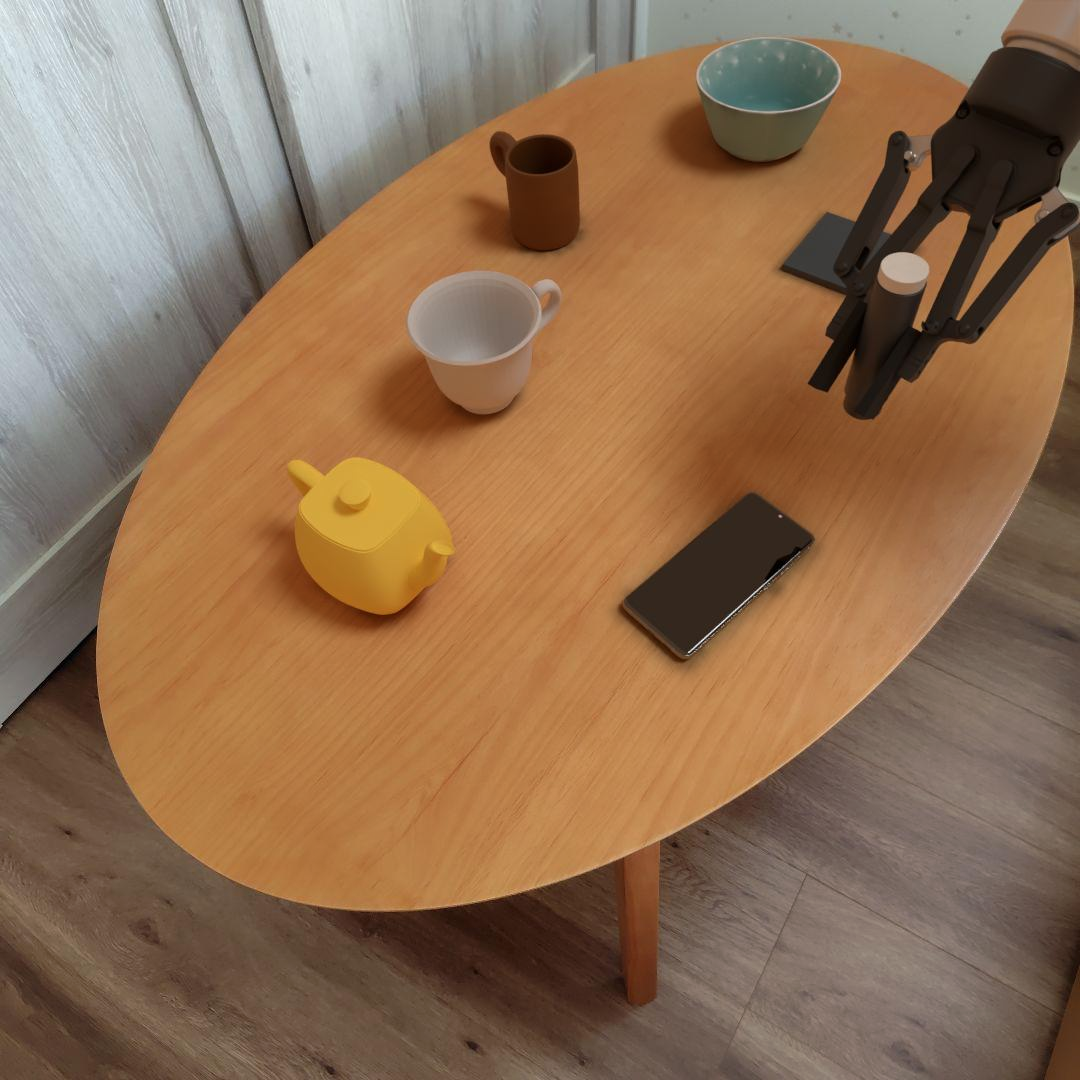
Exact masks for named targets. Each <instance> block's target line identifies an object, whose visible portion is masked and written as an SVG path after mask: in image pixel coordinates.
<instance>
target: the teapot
mask: <svg viewBox="0 0 1080 1080" xmlns="http://www.w3.org/2000/svg"><path fill="white" fill-rule="evenodd" d="M286 472H287V476H288V477H289V479H290V480H291V482H292V483H293V485H294V486H295V488H296V489H297V491H299V493H300V494H301V495H302V497H303V498H302V499H301V500H300V503H299V504H298V507H297V512H296V516H295V517H296V518H295V522H294V523H295V524H294V540H295V546H296V551H297V553H298V557H299V560H300V562H301V564H302V565H303V568H304V569H305V570H306V572H307V574H309V576H310V577H311V578H312V579H313V581H314V582H315V583H316V584H317V585H318V586H319V587H320V588H321V589H323V591H325V592H326V593H328V594H329V595H330V596H331V597H332V598H335V599H336V600H338V601H339V602H342V603H343V604H346V605H347V606H350V607H352V608H355V609H358V610H361V611H364V612H367V613H370V614H374V615H382V616H383V615H393V614H395V613H397V612H400V610H401V611H402V609H403V608H405V607H406V606H407V605H409V604H410V603H411V602H412V601H413V600H414V599H415V598H416V597H418V595H419V594H420V593H421V592H422V591H424V589H425V588H427V587H430V586H432V585H433V584H435V583H436V582H437V581H438V580H439V579H440V578H441V577H442V576H443V574H444V573H445V571H446V569H447V565H448V559H449V558H450V556H451V555H453V554H454V553H455V552H456V548H455V546H454V545H453V536H452V532H451V530H450V528H449V525H448V524H447V522H446V520H445V518H444V515H442V513H441V512H440V511H439V509H438V508H437V506H436V505H435V504H434V503H433V502H432V501H431V500H430V499H429V498H428V497H427V496H426V495H425V494H424V493H423V492H422V491H421V490H420V489H419V488H418V487H416V486H415V485H414V484H413V483H412V482H411V481H409V480H408V479H407V478H405V477H404V476H403V475H401V474H400V473H399V472H397V471H395V470H394V469H391V468H390V467H387V466H386V465H384V464H381V463H379V462H377V461H374V460H370V459H368V458H364V457H359V456H357V457H356V456H355V457H349V458H346V459H344V460H343V461H341V462H340V463H338V464H337V465H335V466H334V467H333V468H332V469H331V470H330V471H328V473H327V474H326V475H324V474H323V473H322V472H320V471H319V470H318V469H316V468H315V467H313V466H312V465H311V464H309V463H307V462H306V461H304V460H301V459H293V460H290V461H289V462H288V464H287V465H286Z"/></svg>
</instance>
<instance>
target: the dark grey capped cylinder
mask: <svg viewBox="0 0 1080 1080" xmlns="http://www.w3.org/2000/svg"><path fill="white" fill-rule="evenodd" d="M929 274H930V266H929V264H928V262H927V261H926V260H925V259H924V258H923V257H921V256H919V255H917V254H915V253H913V254H912V253H906V252H898V253H893V254H890V255H888V256H886V257H885V258H884V259H883V260H882V262H881V265H880V268H879V271H878V272H877V274H876V277H875V280H874V284H873V287H872V291H871V295H870V298H869V302H868V305H867V309H866V312H865V316H864V320H863V323H862V327H861V330H860V334H859V338H858V341H857V345H856V348H855V350H854V352H853V354H852V358H851V359H852V360H851V364H850V367H849V369H848V374H847V377H846V380H845V383H844V388H843V391H844V397H843V402H842V407H843V410H844V411H845V412H846V414H847V415H848V416H850V417H852V418H854V419H857V420H861V421H868V420H870V419H869V418H866V417H863V416H861V415H860V414H858V413H856V412H855V409H856V408H857V406H858V405H859V403H860V401H861V400H862V398H863V397H864V395H865V394H866V392H867V391H868V389H869V388H870V386H871V384H872V383H873V381H874V380H875V378H876V377H877V375H878V374H879V372H880V370H881V369H882V367H883V366H884V364H885V363H886V361H887V360H888V358H889V356H890V355H891V353H892V352H893V350H894V349H895V347H896V346H897V344H898V343H899V341H900V339H901V338H902V336H903V335H904V333H905V332H906V330H907V329H908V327H909V326H911V327H913V328H914V324H915V321H916V317H917V315H918V312H919V309H920V307H921V303H922V300H923V297H924V295H925V292H926V288H927V285H928V281H927V280H928V278H929ZM889 398H890V396H889V397H888V399H887V400H886V402H887V401H888V400H889ZM883 406H884V405H883ZM883 406H882V408H881V409H880V411H879V413H878V414H877V416H876V417H875V418H877V417H878V416H879V415H880V413H881V412H882V410H883Z"/></svg>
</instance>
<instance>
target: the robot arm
mask: <svg viewBox="0 0 1080 1080" xmlns="http://www.w3.org/2000/svg"><path fill="white" fill-rule="evenodd" d="M1000 39H1001V40H1000V41H1001V44H1002V47H1000V48H997V50H994V51H992V52H991V53H990V54H989V56H988V57H987V59H986V60H985V62H984V64H983V65H982V66H981V68H980V70H979V72H978V73H977V75H976V76H975V78H974V80H973V82H972V83H971V84H970V86H969V88H968V90H967V92H966V93H965V94H964V96H963V98H962V99H961V101H960V103H959V104H958V107H957V109H956V111H955V113H953V115H952V116H951V117H950V118H949V119H948V120H947V121H946V122H944V123H943V124H941V125H940V126H939V127H938V128H937V129H936V130H935V131H934V132H933V134H922V135H921V134H920V135H907V133H906V132H905V131H903V130H897V131H894V132H892V133H891V134H890V136H889V137H888V140H887V147H886V153H885V158H884V165H883V168H882V169H881V172H880V173H879V175H878V177H877V179H876V181H875V183H874V185H873V187H872V189H871V191H870V193H869V195H868V197H867V199H866V201H865V203H864V205H863V207H862V209H861V210H860V213H859V214H858V216H857V219H856V220H855V224H854V226H853V228H852V230H851V232H850V234H849V236H848V238H847V240H846V242H845V244H844V246H843V248H842V250H841V252H840V254H839V256H838V258H837V260H836V261H835V263H834V266H833V271H834V273H835V274H836V275H837V276H838V277H839V278H840V279H841V280H842V282H843V283H844V284H845V285H846V287H847V295H846V294H845V296H844V299H843V301H842V302H841V304H840V305H839V307H838V309H837V310H836V311H835V314H834V315H833V316H832V319H831V320H830V322H829V324H827V326H826V329H825V334H824V336H825V337H827V338H829V339H830V340H832V343H831V345H830V346H829V348H828V350H827V351H826V352H825V355H823V357H822V359H821V361H820V362H819V364H818V366H817V367H816V369H815V370H814V372H813V374H812V375H811V377H810V379H809V380H808V381H807V385H809V386H811V387H812V388H814V389H815V390H818V391H821V392H824V393H827V394H828V393H829V392H830V390H831V388H832V387H833V385H834V383H835V382H836V380H837V379H838V377H839V375H840V374H841V372H842V371H843V369H844V368H845V366H846V364H847V363H848V361H849V360H850V358H851V356H853V354H854V352H855V348H856V345H857V341H858V338H859V334H860V330H861V327H862V323H863V320H864V316H865V312H866V309H867V305H868V302H869V298H870V295H871V291H872V287H873V284H874V280H875V277H876V274H877V272H878V271H879V268H880V265H881V262H882V260H883V259H884V258H885V257H886V256H888V255H890V254H893V253H898V252H906V253H912V254H915V252H916V250H917V249H918V248H919V247H920V246H921V244H923V242H924V241H925V240H926V239H927V237H928V236H929V235H930V234H931V233H932V232H933V230H934V229H935V228H936V227H937V226H938V225H939V224H940V223H942V222H944V221H945V220H946V218H947V217H948V216H949V215H950V214H951V212H956V213H963V214H966V215H967V216H969V219H968V222H967V224H966V230H965V233H964V235H963V237H962V240H961V242H960V244H959V246H958V248H957V250H956V252H955V255H954V257H953V259H952V261H951V264H950V266H949V268H948V270H947V272H946V275H945V277H944V279H943V282H942V283H941V286H940V287H939V290H938V293H937V295H936V297H935V299H934V301H933V303H932V306H931V307H930V309H929V311H928V314H927V316H926V319H925V321H923V320H922V321H921V324H920V325H921V330H919V329H917V328H915V327H914V326H913V327H911V326H909V327H908V329H907V330H906V332H905V333H904V335H903V336H902V338H901V339H900V341H899V343H898V344H897V346H896V347H895V349H894V350H893V352H892V353H891V355H890V356H889V358H888V360H887V361H886V363H885V364H884V366H883V367H882V369H881V370H880V372H879V374H878V375H877V377H876V378H875V380H874V381H873V383H872V384H871V386H870V388H869V389H868V391H867V392H866V394H865V395H864V397H863V398H862V400H861V401H860V403H859V405H858V406H857V408H856V409H855V412H856V413H858V414H860V415H861V416H863V417H866V418H869V420H875V419H876V418H877V417H878V416H877V414H878V413H879V411H880V409H881V408H882V409H883V407H882V406H884V404H886V403H887V401H888V400H889V398H890V396H891V394H892V393H893V391H894V390H895V388H896V387H897V385H898V383H899V382H900V381H901V379H902V380H904V381H906V382H908V383H910V384H912V383H914V382H915V381H916V380H918V379H919V378H920V376H921V375H922V373H923V372H924V370H925V369H926V367H927V366H928V364H929V363H930V361H931V360H932V358H933V357H934V355H935V353H936V352H937V350H938V349H939V348H940V346H942V345H943V344H944V343H948V342H954V343H963V344H966V345H973V344H975V343H976V342H977V341H979V340H980V338H981V337H982V336H983V335H984V333H985V332H986V330H987V329H988V328H989V327H990V325H992V323H993V321H995V319H996V318H997V317H998V315H999V314H1000V313H1001V311H1002V310H1003V309H1004V308H1005V306H1006V305H1007V304H1008V302H1009V301H1010V300H1011V299H1012V297H1013V296H1014V295H1015V294H1016V292H1017V291H1018V290H1019V289H1020V287H1021V286H1022V285H1023V283H1024V282H1025V281H1026V280H1027V278H1028V277H1029V276H1030V275H1031V273H1032V272H1033V271H1034V269H1035V268H1036V267H1037V266H1038V265H1039V263H1040V262H1041V261H1042V259H1043V258H1044V257H1045V256H1046V254H1047V253H1048V252H1049V251H1050V249H1051V248H1052V247H1054V246H1055V245H1056V244H1058V243H1059V242H1061V241H1063V240H1064V239H1065V238H1067V237H1068V236H1070V235H1071V234H1072V233H1074V232H1076V231H1077V230H1078V229H1079V228H1080V210H1079V207H1078V205H1077V204H1075V203H1074V202H1071V201H1068V199H1067V198H1066V196H1064V194H1063V193H1062V192H1061V190H1060V189H1059V187H1060V184H1061V178H1062V171H1063V168H1064V165H1065V163H1066V161H1068V159H1069V157H1070V156H1071V154H1072V153H1073V151H1074V149H1075V148H1076V147H1077V145H1078V143H1080V0H1022V1H1021V3H1020V5H1019V6H1018V7H1017V10H1016V11H1015V12H1014V14H1013V16H1012V18H1011V20H1010V21H1009V23H1008V24H1007V26H1006V27H1005V29H1004V30H1003V32H1002V34H1001V36H1000ZM929 156H930V164H931V182H930V183H929V184H928V186H926V188H925V189H924V190H923V192H922V193H921V194H920V195H919V197H918V199H917V200H916V201H917V202H916V204H915V206H914V207H913V208H912V209H911V210H910V212H908V213H907V215H906V216H905V217H904V218H903V220H902V221H901V222H900V223H899V225H898V226H897V227H896V229H894V231H893V232H892V233H891V234H892V235H891V236H890V237H889V238H888V239H887V241H886V242H885V243H884V244H883V245H882V247H881V248H880V249H879V250H878V252H877V253H876V254H875V255H874V256H873V258H872V259H871V260H870V261H869V262H868V264H867V265H866V263H867V261H868V259H869V257H870V255H871V253H872V252H873V250H874V248H875V246H876V244H877V242H878V240H879V238H880V236H881V234H882V232H884V231H885V228H886V227H887V225H888V223H889V221H890V219H891V218H892V215H893V213H894V211H895V210H896V208H897V205H898V204H899V202H900V200H901V198H902V196H903V194H904V192H905V190H906V188H907V186H908V184H909V181H910V178H911V176H912V172H915V171H918V170H919V169H920V168H921V166H922V164H923V162H924V160H925V159H926V158H927V157H929ZM1039 203H1041V206H1040V208H1039V209H1038V210H1037V211H1036V212H1035V214H1034V217H1033V219H1034V221H1033V222H1034V223H1035V224H1034V225H1033V226H1031V228H1029V230H1028V231H1027V232H1026V233H1025V235H1024V236H1022V238H1021V240H1020V241H1019V242H1018V243H1017V245H1016V246H1015V247H1014V248H1013V250H1012V251H1011V253H1010V254H1009V255H1008V256H1007V258H1006V259H1005V260H1004V262H1003V263H1002V264H1001V266H1000V267H999V268H998V270H997V271H996V272H995V273H994V275H993V276H992V277H991V278H990V280H989V281H988V283H987V284H986V285H985V286H984V288H983V289H982V290H981V292H980V293H979V294H978V295H977V296H976V298H974V300H973V301H972V303H971V304H970V306H969V307H968V309H966V310H965V312H964V314H963V315H962V316H961V317H960V319H959V320H958V316H959V315H960V312H961V310H962V308H963V305H964V304H965V301H966V299H967V297H968V295H969V293H970V290H971V288H972V286H973V285H974V282H975V280H976V277H977V275H978V273H979V271H980V268H981V266H982V264H983V263H984V260H985V258H986V256H987V254H988V252H989V249H990V247H991V245H992V244H993V243H994V242H995V240H996V238H997V237H998V235H999V232H1000V230H1001V227H1002V226H1003V223H1004V221H1005V220H1007V219H1009V218H1011V217H1013V216H1015V215H1017V214H1018V213H1020V212H1023V211H1025V210H1027V209H1028V208H1030V207H1033V206H1034V205H1037V204H1039ZM865 265H866V266H865ZM888 397H889V398H888ZM887 399H888V400H887ZM886 400H887V401H886ZM876 416H877V417H876Z"/></svg>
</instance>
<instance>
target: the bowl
mask: <svg viewBox="0 0 1080 1080" xmlns="http://www.w3.org/2000/svg"><path fill="white" fill-rule="evenodd" d="M695 81H696V87H697V90H698V94H699V96H700V100H701V104H702V107H703V110H704V113H705V116H706V119H707V122H708V125H709V129H710V132H711V134H712V137H713V140H714V141H715V142H716V144H718V146H719V147H721V148H722V149H723V150H725V151H726V152H728V153H729V154H730V155H732V156H733V157H736V158H737V159H741V160H744V161H747V162H754V163H755V162H757V163H760V162H761V163H763V162H766V163H767V162H772V161H777V160H780V159H782V158H783V159H784V158H785V157H787V156H789V155H791V154H793V153H795V152H798V151H799V150H800V149H801V148H803V147H804V146H805V145H806V143H807V142H808V140H810V138H811V136H812V135H813V134H814V131H815V129H816V128H817V127H818V125H819V123H820V121H821V120H822V118H823V116H824V114H825V113H826V112H827V109H828V108H829V106H830V104H831V102H832V101H833V99H834V97H835V95H836V93H837V92H838V89H839V87H840V85H841V82H842V70H841V67H840V65H839V63H838V62H837V60H836V59H835V58H834V57H833V56H832V55H830V54H829V53H828V52H827V51H825V50H823V49H822V48H821V47H818V46H816V45H814V44H811V43H809V42H806V41H802V40H798V39H795V38H794V39H793V38H788V37H778V36H764V37H763V36H761V37H752V38H751V37H750V38H746V39H741V40H736V41H733V42H730V43H727V44H724V45H723V46H719V47H718V48H716V49H714V50H713V51H711V52H710V53H709V54H707V55H706V56H705V57H704V58H703V59H702V60H701V61H700V63H699V64H698V67H697V69H696V73H695Z"/></svg>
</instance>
